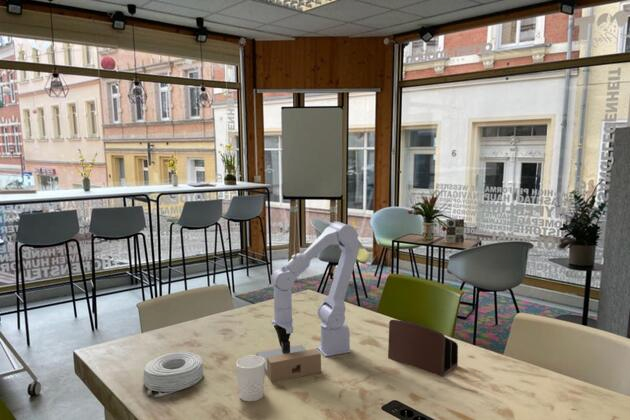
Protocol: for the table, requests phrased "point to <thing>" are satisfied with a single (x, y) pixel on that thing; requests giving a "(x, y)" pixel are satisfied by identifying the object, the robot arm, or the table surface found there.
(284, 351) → the bolt
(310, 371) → the door and jamb
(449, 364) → the letter holder
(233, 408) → the table surface
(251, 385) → the white cup
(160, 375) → the cable
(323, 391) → the table surface
